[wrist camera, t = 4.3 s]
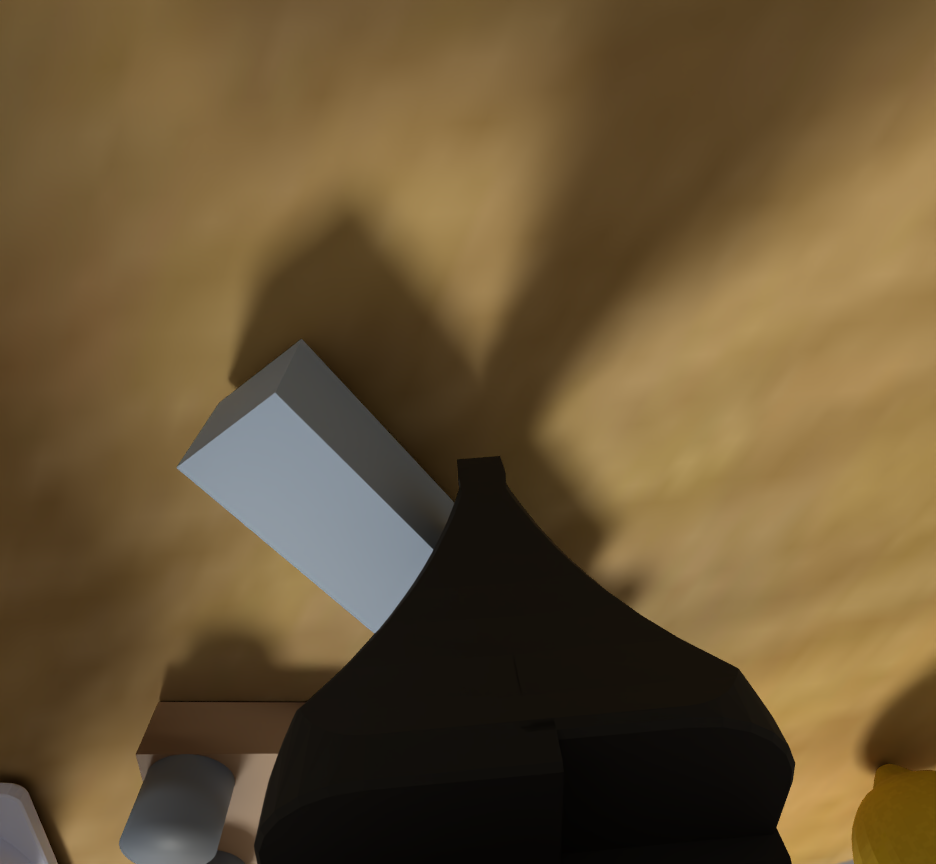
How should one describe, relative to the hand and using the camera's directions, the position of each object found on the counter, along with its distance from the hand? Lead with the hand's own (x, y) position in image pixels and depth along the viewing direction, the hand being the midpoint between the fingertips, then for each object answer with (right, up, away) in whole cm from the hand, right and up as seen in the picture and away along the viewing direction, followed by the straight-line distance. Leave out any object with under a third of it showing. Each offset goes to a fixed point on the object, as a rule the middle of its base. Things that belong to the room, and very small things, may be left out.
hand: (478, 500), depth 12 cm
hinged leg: (-1, -1, +2) cm, 3 cm away
